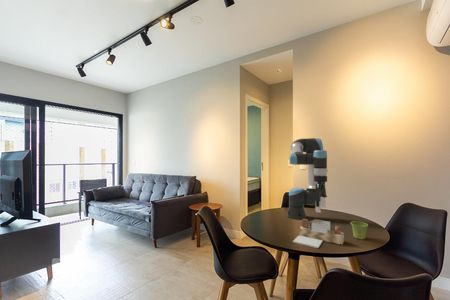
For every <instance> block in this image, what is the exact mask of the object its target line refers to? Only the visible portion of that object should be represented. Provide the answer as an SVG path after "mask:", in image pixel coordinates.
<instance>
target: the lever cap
mask: <svg viewBox="0 0 450 300" xmlns="http://www.w3.org/2000/svg"><path fill="white" fill-rule="evenodd" d="M330 230H331V221H327V220H322V219H318V218H316V219H313V222H312V231H316V232H321V233H326V234H328V232H329V231H330Z"/></svg>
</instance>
